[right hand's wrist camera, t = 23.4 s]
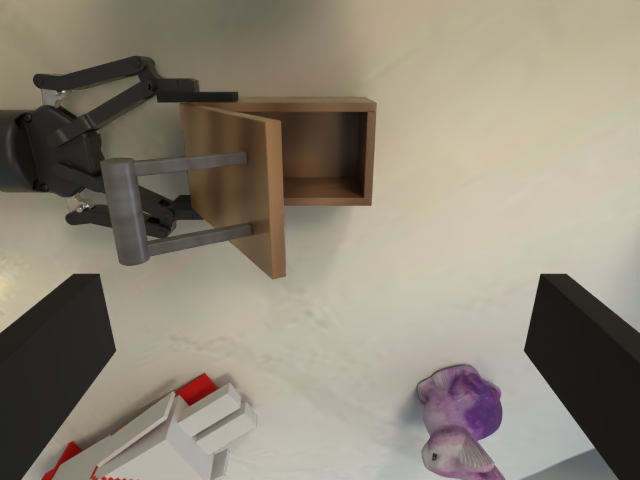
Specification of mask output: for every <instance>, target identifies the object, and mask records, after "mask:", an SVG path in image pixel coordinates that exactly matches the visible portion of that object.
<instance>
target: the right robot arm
mask: <svg viewBox="0 0 640 480" xmlns="http://www.w3.org/2000/svg"><path fill="white" fill-rule="evenodd" d="M115 352H116V348H115V344H114V339H113V335H112V330H111V325H110V321H109V316H108V311H107V307H106V302H105V298H104V293H103V288H102V284H101V279H100V274H73V275H72V276H70V277H69V278H68V279H67V280H65V281H64V282H63V283H62V284H61V285H59V286H58V287H57V288H56V289H54V290H53V291H52V292H51V293H49V294H48V295H47V296H46V297H44V298H43V299H42V300H41V301H39V302H38V303H37V304H36V305H35V306H33V307H32V308H31V309H30V310H28V311H27V312H26V313H25V314H23V315H22V316H21V317H20V318H18V319H17V320H16V321H15V322H14V323H12V324H11V325H10V326H9V327H7V328H6V329H5V330H4V331H2V332H1V333H0V480H21V479H22V478H23V476H24V475H25V474H26V472H27V471H28V470H29V468H30V467H31V466H32V464H33V463H34V462H35V460H36V459H37V457H38V456H39V455H40V453H41V452H42V451H43V449H44V448H45V447H46V445H47V444H48V443H49V441H50V440H51V438H52V437H53V436H54V434H55V433H56V432H57V430H58V429H59V428H60V426H61V425H62V424H63V422H64V421H65V420H66V418H67V417H68V415H69V414H70V413H71V411H72V410H73V409H74V407H75V406H76V405H77V403H78V402H79V401H80V399H81V398H82V396H83V395H84V394H85V392H86V391H87V390H88V388H89V387H90V386H91V384H92V383H93V382H94V380H95V379H96V377H97V376H98V375H99V373H100V372H101V371H102V369H103V368H104V367H105V365H106V364H107V363H108V361H109V360H110V358H111V357H112V356H113V354H114V353H115ZM524 352H525V353H526V354H527V356H528V357H529V358H530V360H531V361H532V363H533V364H534V365H535V367H536V368H537V369H538V371H539V372H540V373H541V375H542V376H543V377H544V379H545V380H546V382H547V383H548V384H549V386H550V387H551V388H552V390H553V391H554V392H555V394H556V395H557V396H558V398H559V399H560V401H561V402H562V403H563V405H564V406H565V407H566V409H567V410H568V411H569V413H570V414H571V415H572V417H573V418H574V420H575V421H576V422H577V424H578V425H579V426H580V428H581V429H582V430H583V432H584V433H585V434H586V436H587V437H588V438H589V440H590V441H591V443H592V444H593V445H594V447H595V448H596V449H597V451H598V452H599V453H600V455H601V456H602V457H603V459H604V460H605V462H606V463H607V464H608V466H609V467H610V468H611V470H612V471H613V472H614V474H615V475H616V476H617V478H618V479H619V480H640V333H639V332H638V331H636V330H635V329H634V328H633V327H631V326H630V325H629V324H628V323H626V322H625V321H624V320H623V319H622V318H620V317H619V316H618V315H617V314H615V313H614V312H613V311H612V310H610V309H609V308H608V307H607V306H605V305H604V304H603V303H602V302H601V301H599V300H598V299H597V298H596V297H594V296H593V295H592V294H591V293H589V292H588V291H587V290H586V289H584V288H583V287H582V286H581V285H579V284H578V283H577V282H576V281H575V280H573V279H572V278H571V277H570V276H568V275H567V274H540V279H539V284H538V288H537V293H536V298H535V302H534V307H533V311H532V316H531V321H530V325H529V330H528V335H527V339H526V344H525V348H524Z"/></svg>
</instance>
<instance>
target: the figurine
mask: <svg viewBox="0 0 640 480" xmlns="http://www.w3.org/2000/svg"><path fill="white" fill-rule="evenodd" d="M417 390H418V395H419V400H421V402H422V404H423V405H424V406H425V408H424V411H423V419H424V423H425V426H426V428H427V430H428V432H429V435H430V439H429V440H428V442H427V443H426V444H425V445H424V447H423V449H422V452H421V454H422V459H423V462H424V465H425V467H426V468H427V469H428V470H430V471H432V472H434V473H436V474H438V475H440V476H443V477H448V478H457V479H463V480H506V479H505V478H504V476H503V475H502V474H501V473H500V471H499V470H498V469H497V468H496V466H495V465H494V462H493V461H492V459H491V458H490V457H489V456H488V454H487V453H486V452H485V451H484V449H483V448H482V447H481V446H480V444H479V443H478V442H477V441H478V440H481V439H483V438H486V437H487V436H489V435H491V434H493V433H494V432H495V431H496V430H497V429H498V428H499V426H500V424H501V421H502V406H501V402H500V400H499V399H500V397H501V395H502V392H501V389H500V388H499V387H498V386H496V385H494V384H491V383H488V382H486V381H484V380H482V379H481V377H480V375H479V373H478V372H477V370H476V369H475V368H473V367H471V366H467V365H460V366H456V367H451V368H447V369H444V370H441V371H438V372H437V373H435V374H434V375H433V376H432V377H431V378H429V379H427V380H425V381H422V382H421V383H420V384H418V387H417Z"/></svg>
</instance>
